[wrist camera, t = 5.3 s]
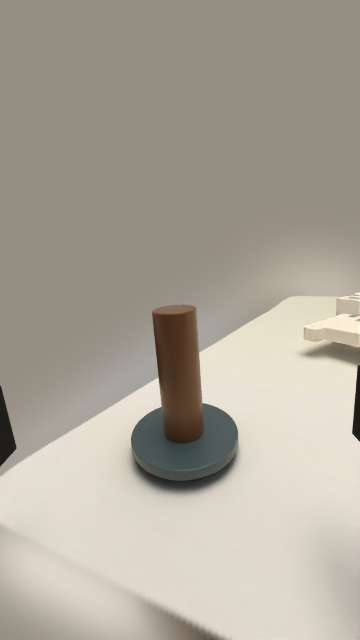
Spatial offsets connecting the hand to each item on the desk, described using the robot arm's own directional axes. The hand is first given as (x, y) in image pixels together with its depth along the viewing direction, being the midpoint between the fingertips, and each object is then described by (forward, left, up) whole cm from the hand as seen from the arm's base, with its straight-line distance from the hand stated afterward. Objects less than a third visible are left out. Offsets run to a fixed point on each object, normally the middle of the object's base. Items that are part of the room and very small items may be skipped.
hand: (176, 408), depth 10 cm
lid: (+2, +5, -5) cm, 8 cm away
